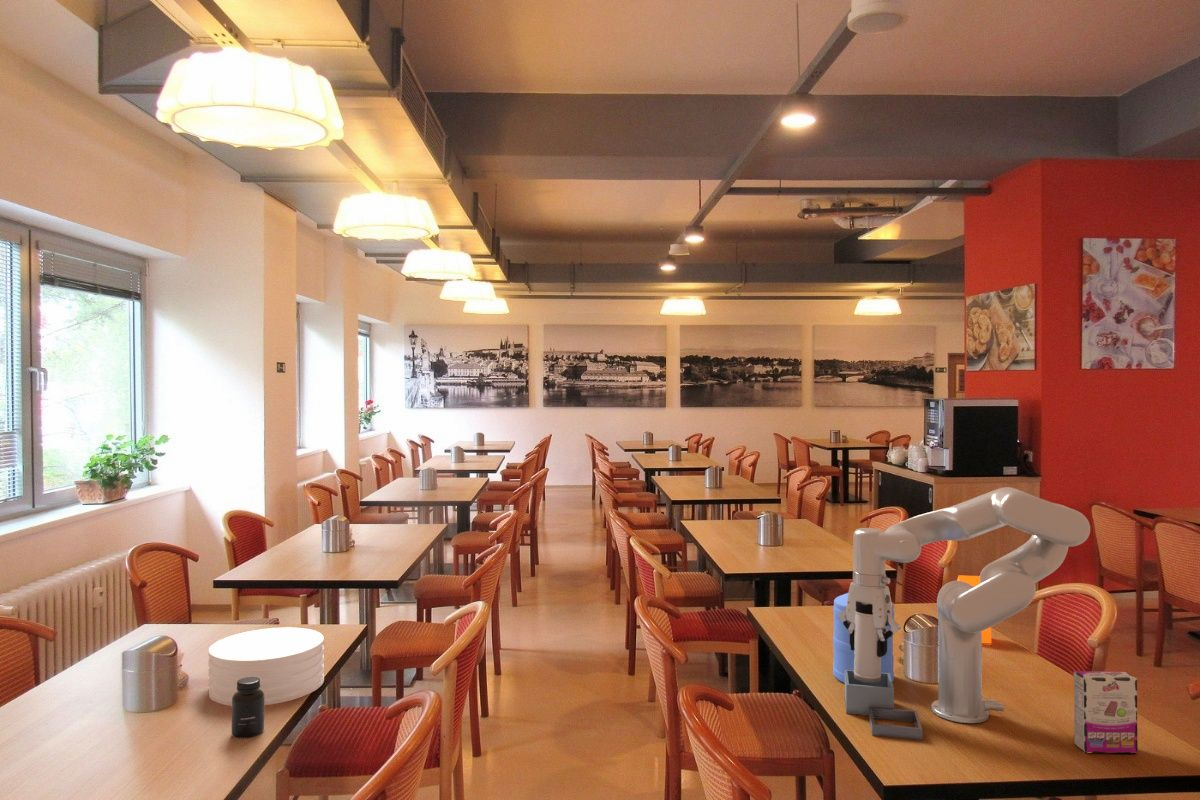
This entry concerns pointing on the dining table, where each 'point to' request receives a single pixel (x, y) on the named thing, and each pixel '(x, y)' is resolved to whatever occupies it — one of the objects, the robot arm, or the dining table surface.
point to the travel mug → (866, 646)
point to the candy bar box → (1105, 712)
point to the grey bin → (867, 694)
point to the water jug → (843, 647)
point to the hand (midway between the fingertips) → (868, 651)
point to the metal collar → (892, 730)
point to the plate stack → (267, 663)
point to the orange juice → (974, 582)
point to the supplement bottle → (248, 708)
